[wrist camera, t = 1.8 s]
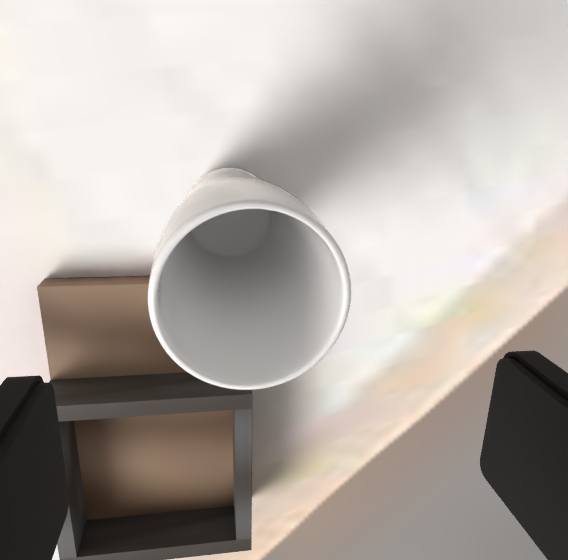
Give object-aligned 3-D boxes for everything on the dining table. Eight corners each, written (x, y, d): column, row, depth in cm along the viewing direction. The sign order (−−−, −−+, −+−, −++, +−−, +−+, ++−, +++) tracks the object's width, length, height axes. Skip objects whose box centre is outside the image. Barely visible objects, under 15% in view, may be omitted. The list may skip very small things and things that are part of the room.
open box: (44, 278, 29) (18, 306, 25) (245, 273, 31) (252, 299, 27) (78, 516, 35) (61, 571, 31) (245, 500, 37) (251, 549, 33)
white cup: (288, 157, 29) (367, 202, 15) (280, 265, 31) (342, 392, 17) (172, 149, 28) (142, 191, 14) (171, 263, 30) (145, 396, 16)
